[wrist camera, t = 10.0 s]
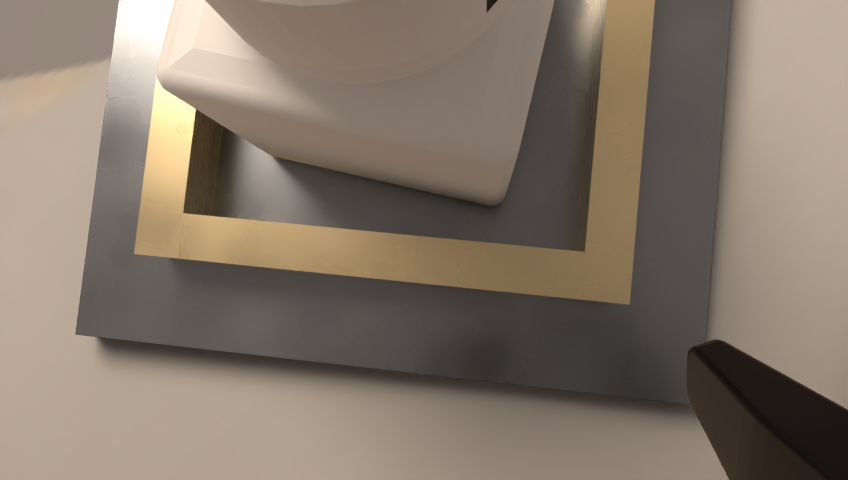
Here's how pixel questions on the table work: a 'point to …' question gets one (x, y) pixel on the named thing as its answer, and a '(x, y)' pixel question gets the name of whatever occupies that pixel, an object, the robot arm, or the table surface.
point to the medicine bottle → (367, 83)
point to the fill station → (432, 222)
